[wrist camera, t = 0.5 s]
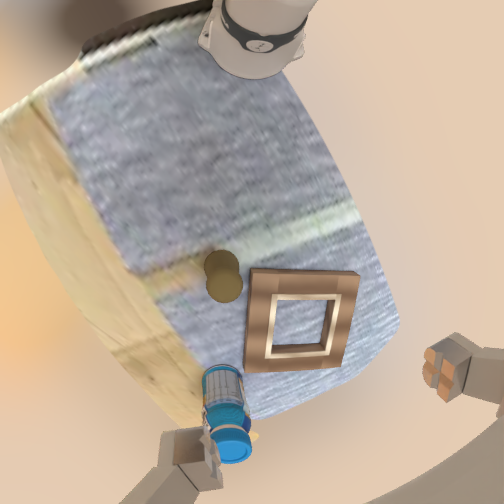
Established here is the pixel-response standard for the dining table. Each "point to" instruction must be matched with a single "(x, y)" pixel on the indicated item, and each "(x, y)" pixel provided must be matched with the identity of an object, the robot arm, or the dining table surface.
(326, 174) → the dining table surface
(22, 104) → the dining table surface
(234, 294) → the olive peg
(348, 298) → the socket board
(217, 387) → the beverage bottle
